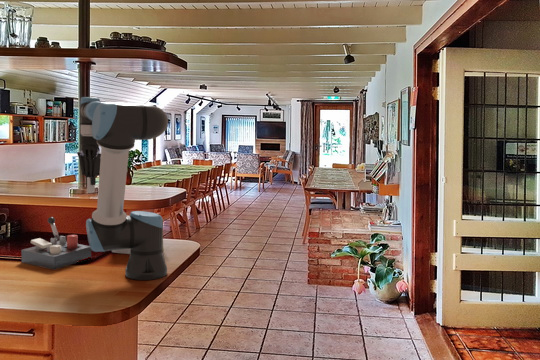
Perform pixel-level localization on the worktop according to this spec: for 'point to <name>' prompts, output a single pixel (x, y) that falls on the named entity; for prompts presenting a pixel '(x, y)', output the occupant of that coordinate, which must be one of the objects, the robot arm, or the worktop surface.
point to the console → (55, 255)
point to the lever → (53, 227)
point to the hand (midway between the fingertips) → (91, 192)
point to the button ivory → (55, 249)
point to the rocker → (41, 243)
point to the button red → (72, 241)
